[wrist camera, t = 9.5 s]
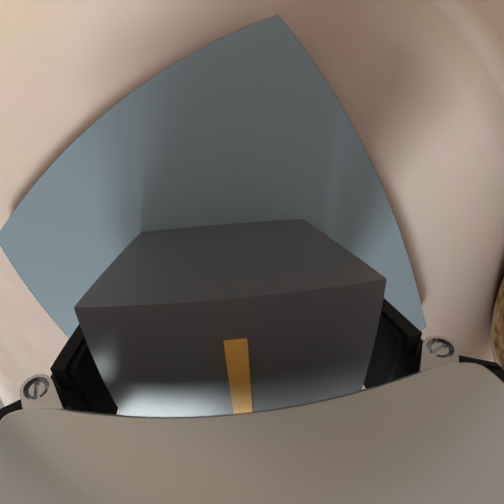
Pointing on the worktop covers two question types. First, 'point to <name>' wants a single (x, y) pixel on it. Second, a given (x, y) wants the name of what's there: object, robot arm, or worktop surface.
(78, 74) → the worktop surface
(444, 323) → the worktop surface
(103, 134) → the base
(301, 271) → the dark grey cube
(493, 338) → the clay pot
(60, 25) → the worktop surface
